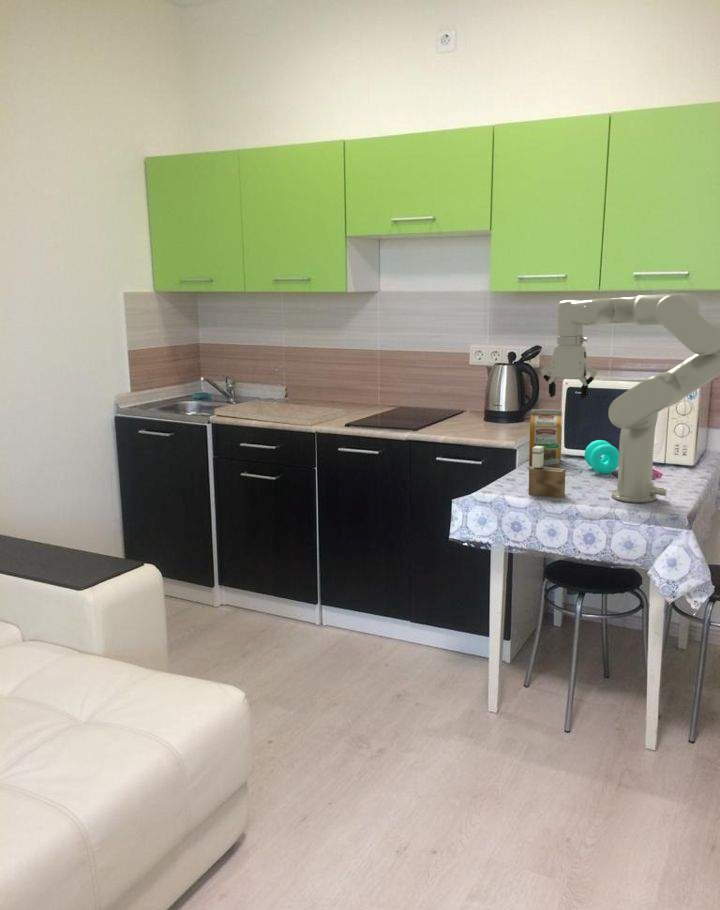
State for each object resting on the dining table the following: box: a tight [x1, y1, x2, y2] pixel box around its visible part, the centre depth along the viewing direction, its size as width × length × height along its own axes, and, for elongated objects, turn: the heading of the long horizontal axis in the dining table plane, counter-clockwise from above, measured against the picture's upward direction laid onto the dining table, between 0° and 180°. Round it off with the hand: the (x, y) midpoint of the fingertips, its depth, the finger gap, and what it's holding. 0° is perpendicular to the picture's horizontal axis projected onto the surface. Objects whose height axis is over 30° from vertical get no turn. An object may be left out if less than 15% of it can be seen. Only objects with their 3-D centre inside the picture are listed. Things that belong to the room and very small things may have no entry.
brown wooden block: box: [528, 466, 566, 499], centre depth 242 cm, size 10×4×8 cm, turn 58°
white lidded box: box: [531, 446, 544, 468], centre depth 242 cm, size 2×3×6 cm
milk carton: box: [528, 409, 563, 467], centre depth 281 cm, size 11×11×19 cm
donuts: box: [584, 439, 619, 475], centre depth 268 cm, size 10×10×10 cm
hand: (567, 397), depth 245 cm, fingers open, 9 cm apart
